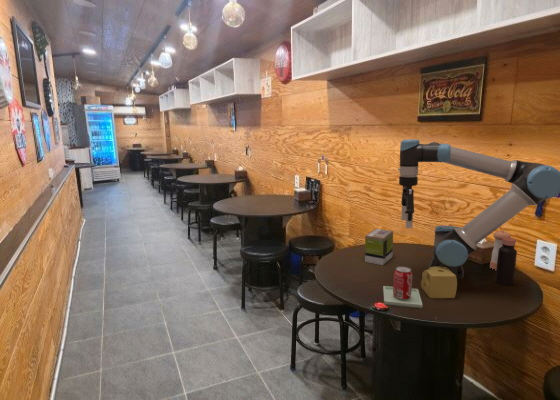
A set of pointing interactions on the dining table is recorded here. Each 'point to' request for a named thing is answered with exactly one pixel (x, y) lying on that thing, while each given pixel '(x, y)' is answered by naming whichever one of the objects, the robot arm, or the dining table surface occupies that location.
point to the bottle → (506, 262)
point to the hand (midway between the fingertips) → (406, 223)
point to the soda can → (402, 283)
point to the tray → (411, 302)
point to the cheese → (439, 282)
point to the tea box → (378, 246)
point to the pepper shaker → (497, 247)
